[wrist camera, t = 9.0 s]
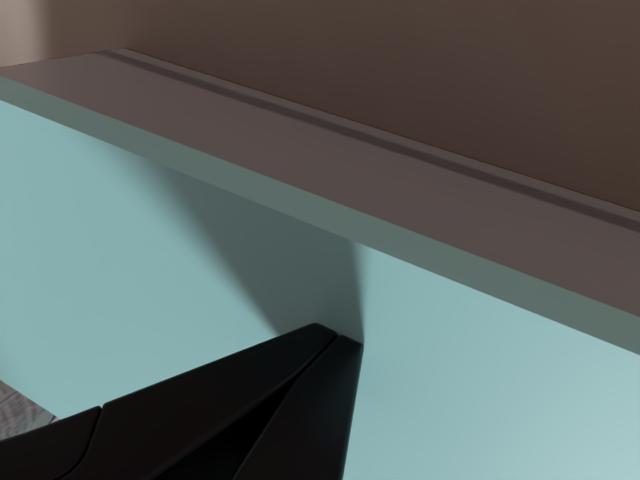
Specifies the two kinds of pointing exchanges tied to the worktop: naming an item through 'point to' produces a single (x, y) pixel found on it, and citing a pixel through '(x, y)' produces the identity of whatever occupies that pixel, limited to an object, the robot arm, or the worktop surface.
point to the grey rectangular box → (365, 170)
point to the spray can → (20, 413)
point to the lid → (293, 305)
